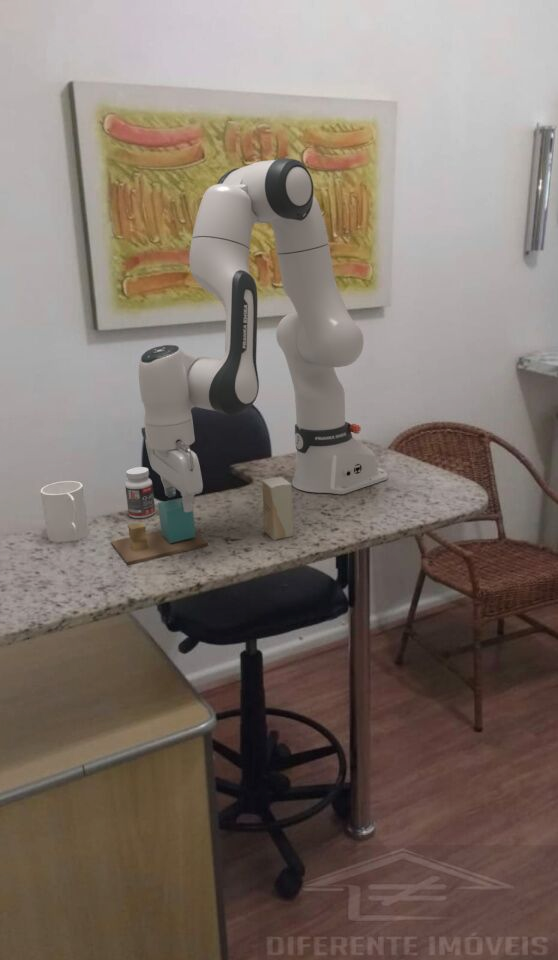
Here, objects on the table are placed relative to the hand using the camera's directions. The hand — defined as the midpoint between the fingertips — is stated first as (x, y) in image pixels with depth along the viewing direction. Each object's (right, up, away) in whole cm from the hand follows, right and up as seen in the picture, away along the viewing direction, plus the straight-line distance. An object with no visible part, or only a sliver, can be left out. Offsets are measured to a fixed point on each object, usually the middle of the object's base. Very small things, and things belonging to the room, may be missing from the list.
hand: (179, 503), depth 144 cm
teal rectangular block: (0, -6, +2) cm, 7 cm away
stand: (-4, -8, +1) cm, 9 cm away
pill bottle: (-10, -3, +17) cm, 20 cm away
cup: (-23, -7, +7) cm, 25 cm away
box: (+19, -6, +3) cm, 21 cm away
